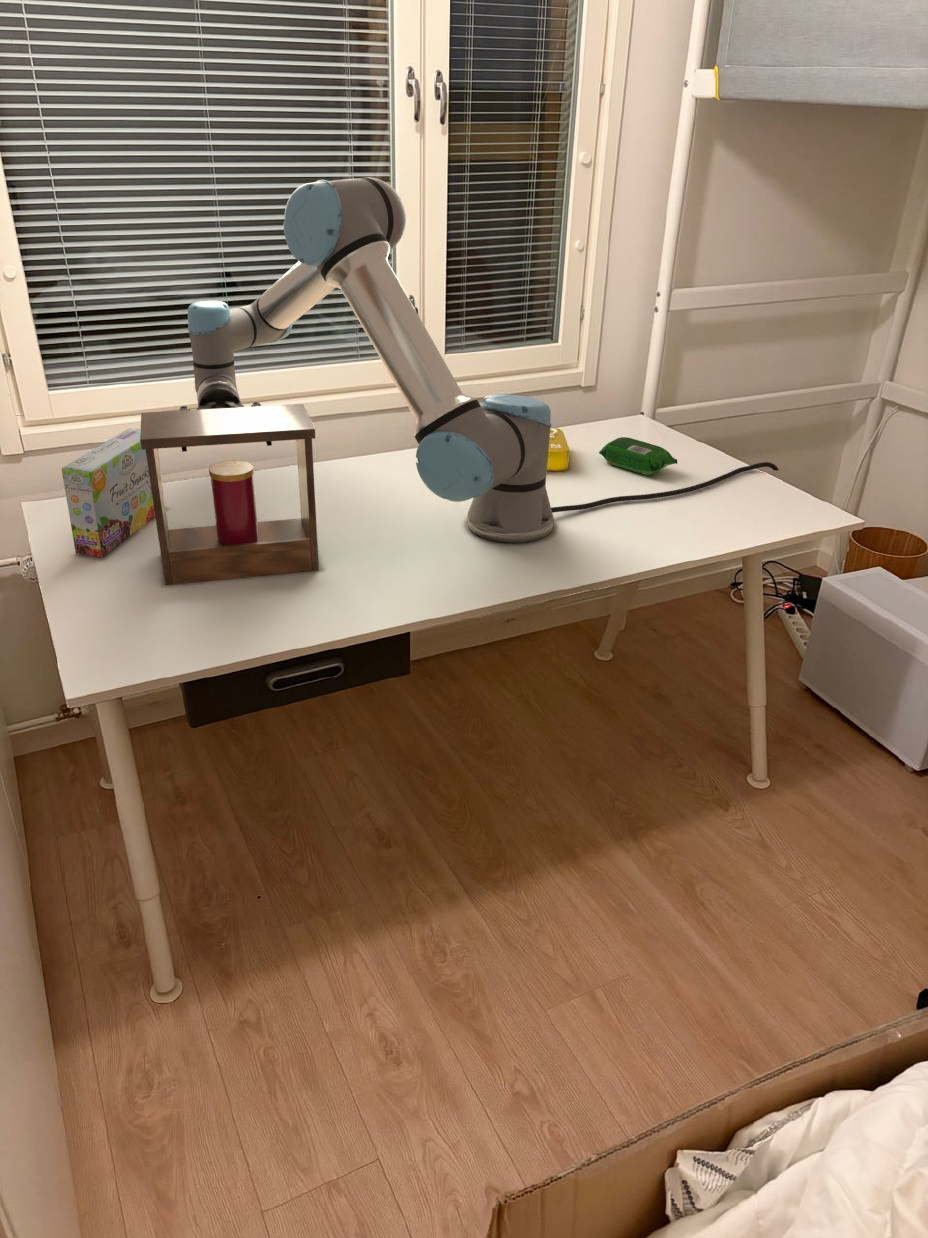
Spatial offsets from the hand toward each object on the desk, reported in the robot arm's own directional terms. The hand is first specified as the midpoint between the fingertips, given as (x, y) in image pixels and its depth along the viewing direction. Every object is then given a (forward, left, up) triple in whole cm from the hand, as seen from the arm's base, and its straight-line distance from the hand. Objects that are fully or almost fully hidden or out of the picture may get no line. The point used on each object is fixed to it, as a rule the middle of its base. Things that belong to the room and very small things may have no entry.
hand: (226, 440), depth 153 cm
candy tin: (0, +11, -13) cm, 17 cm away
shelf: (0, +11, -17) cm, 20 cm away
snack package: (-82, -15, -17) cm, 86 cm away
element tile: (-62, -25, -17) cm, 69 cm away
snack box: (+19, -5, -17) cm, 26 cm away
